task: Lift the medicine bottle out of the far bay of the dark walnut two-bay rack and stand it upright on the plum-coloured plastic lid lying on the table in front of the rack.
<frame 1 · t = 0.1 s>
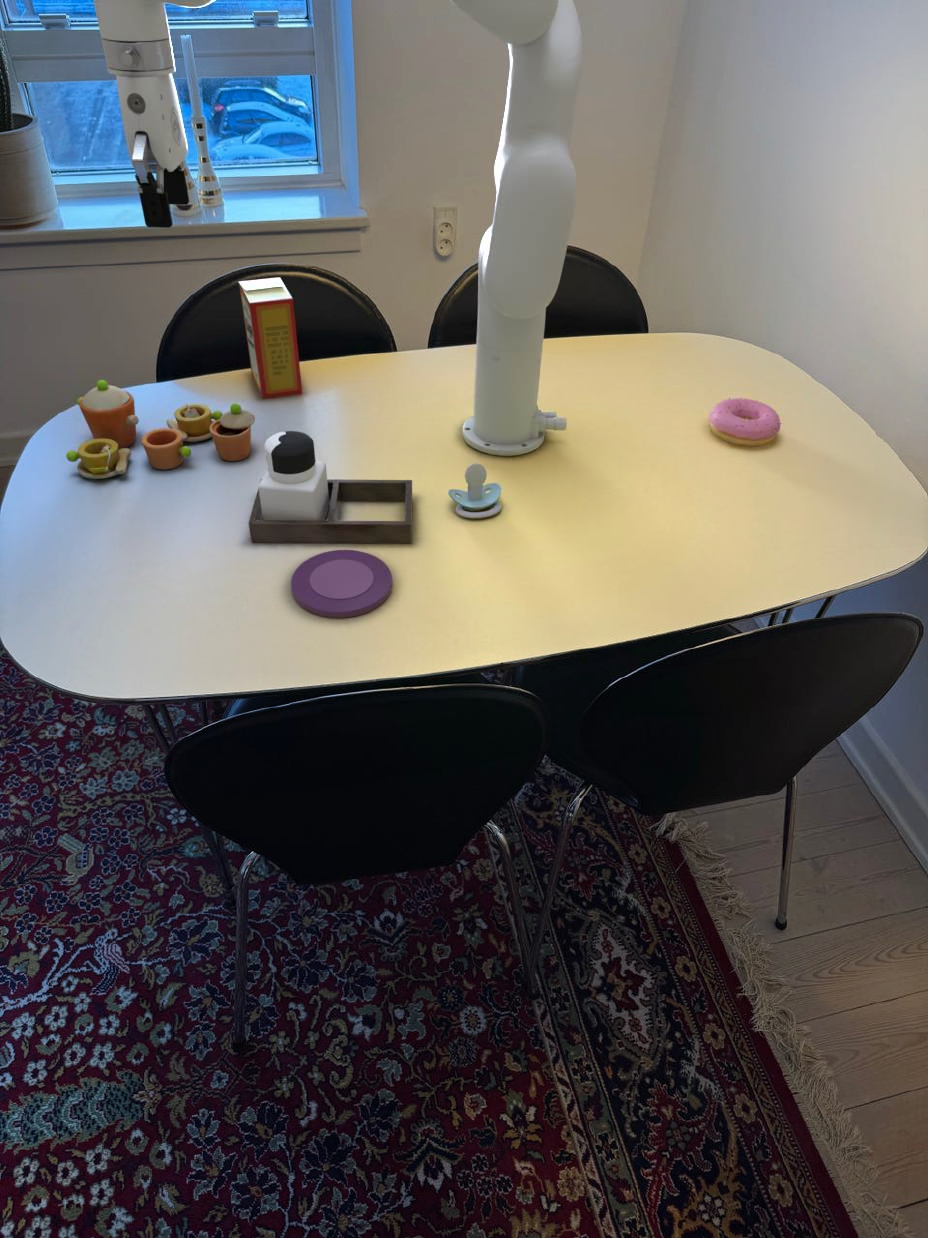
hand: (168, 214, 109), 31 cm above the table, tool pointing down, fingers open, 9 cm apart
rack: (335, 519, 113), on the table
pacifier: (476, 509, 117), on the table
lid: (342, 585, 103), on the table
medicine bottle: (298, 520, 113), resting in rack
doughnut: (740, 433, 135), on the table
toy tea set: (168, 450, 126), on the table
baking soda box: (276, 384, 143), on the table
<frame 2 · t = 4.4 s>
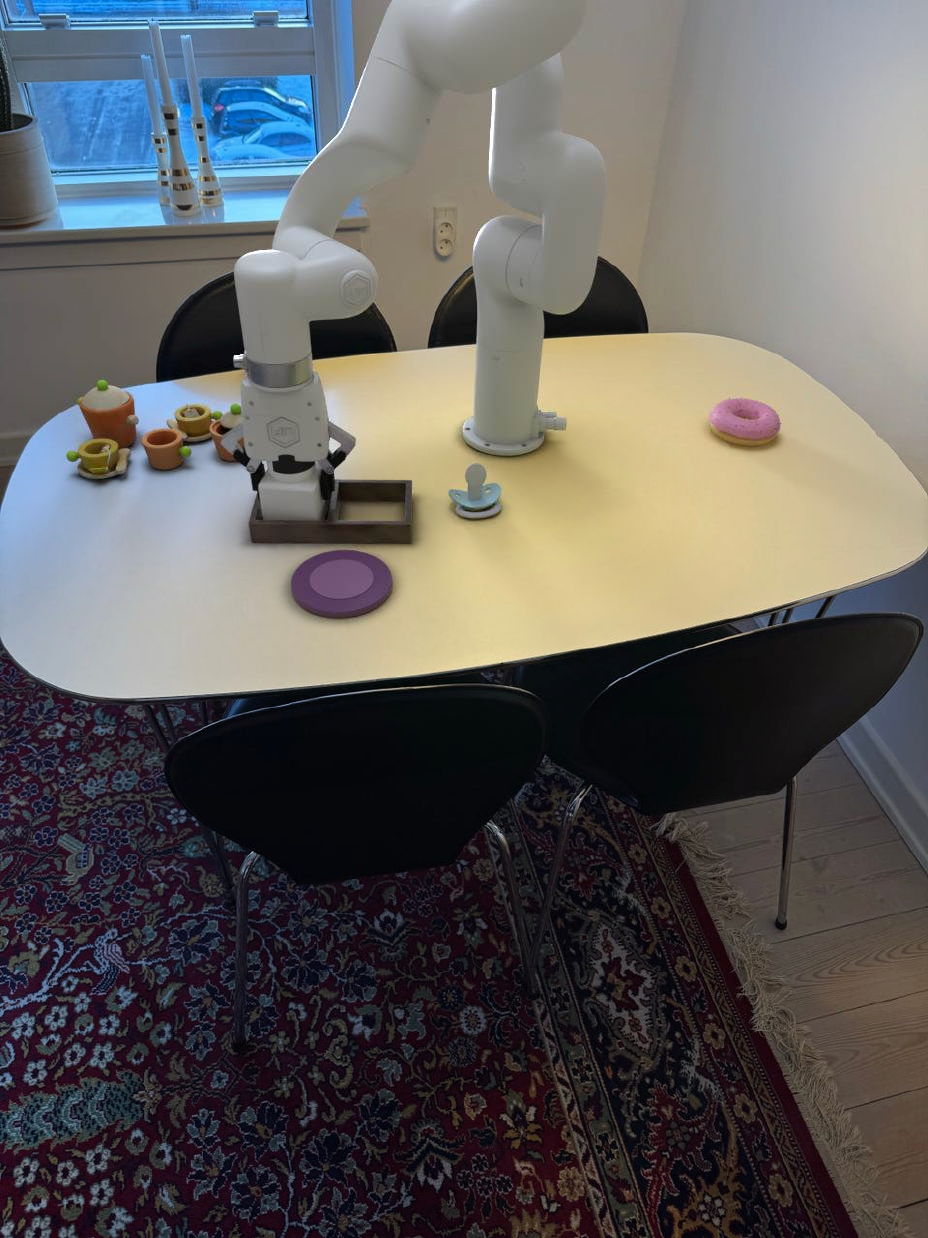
hand: (295, 494, 111), 4 cm above the table, tool pointing down, fingers closed on medicine bottle, 7 cm apart
medicine bottle: (298, 520, 113), resting in rack, touching gripper
everything else where it was.
when the fingers open (5 cm above the table, at t = 11.5 s): medicine bottle stays where it is, resting on lid.
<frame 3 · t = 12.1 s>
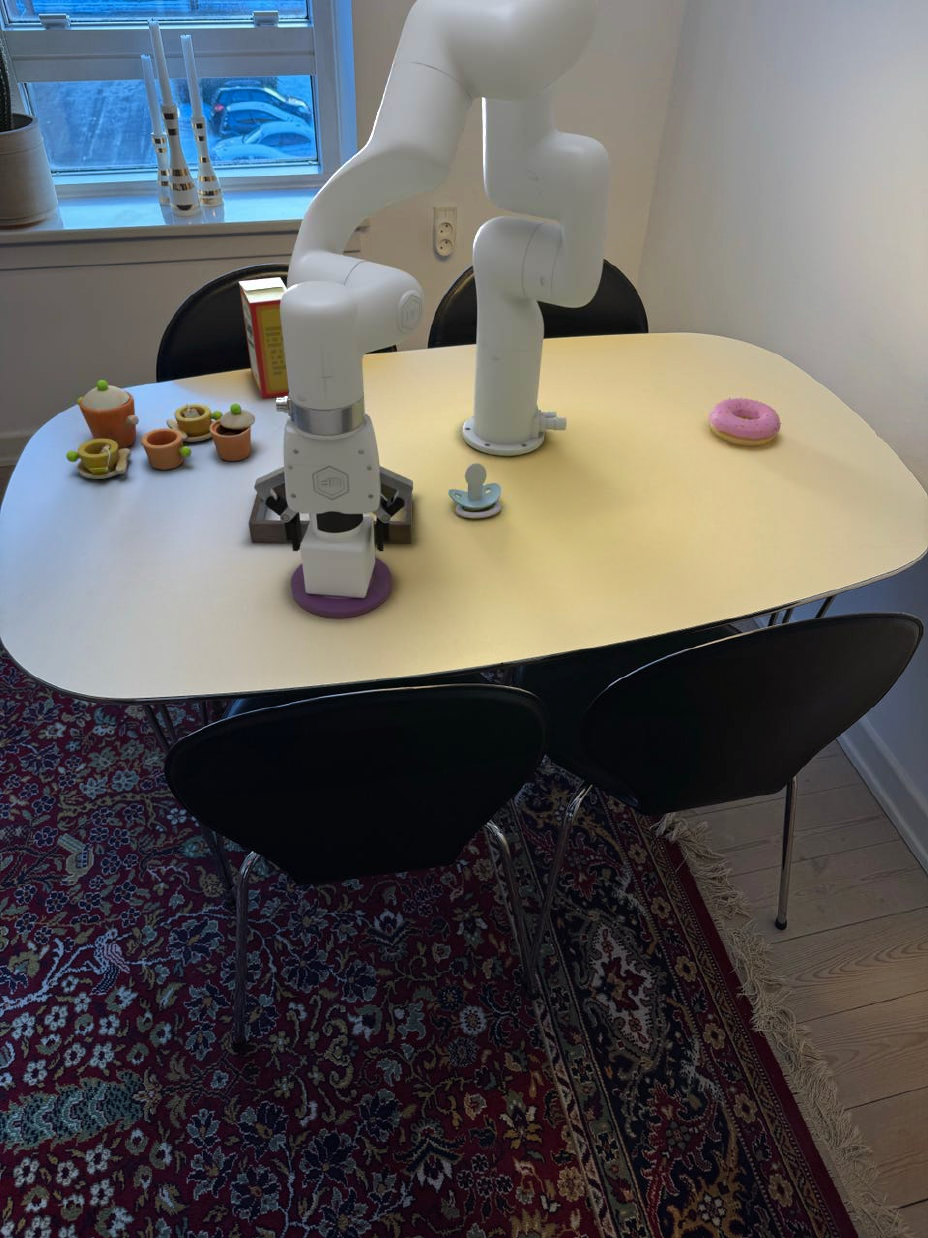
hand: (339, 544, 99), 6 cm above the table, tool pointing down, fingers open, 9 cm apart
lid: (342, 585, 103), on the table, touching medicine bottle
medicine bottle: (341, 579, 102), point 1 cm above the table, touching lid
everything else where it was.
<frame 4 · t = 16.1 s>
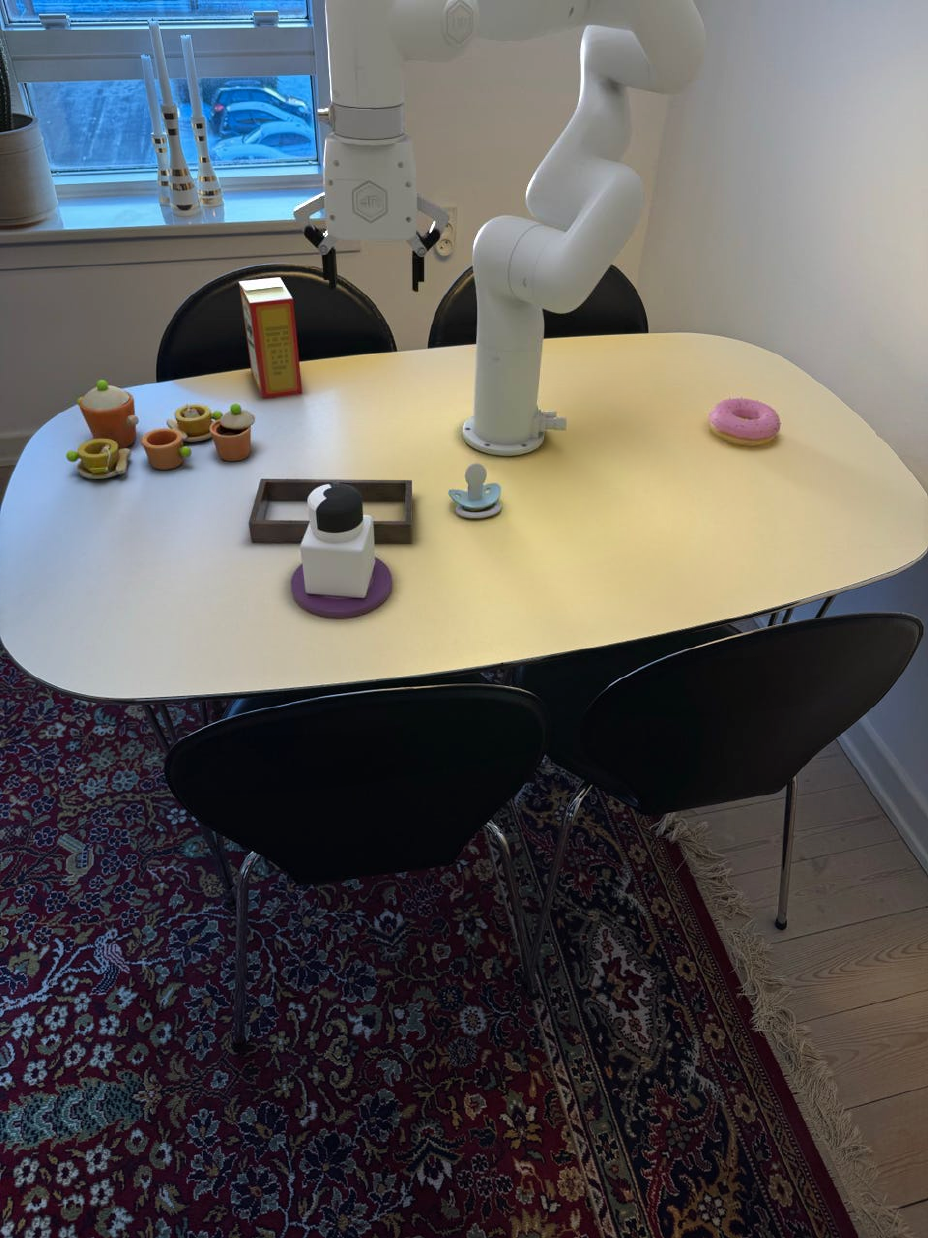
hand: (374, 286, 100), 28 cm above the table, tool pointing down, fingers open, 9 cm apart
nothing on the table moved.
at the end: medicine bottle 0.1 cm off-centre on the lid, point 0.9 cm above the lid's base; medicine bottle tilted 0°; the gripper is holding nothing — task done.
